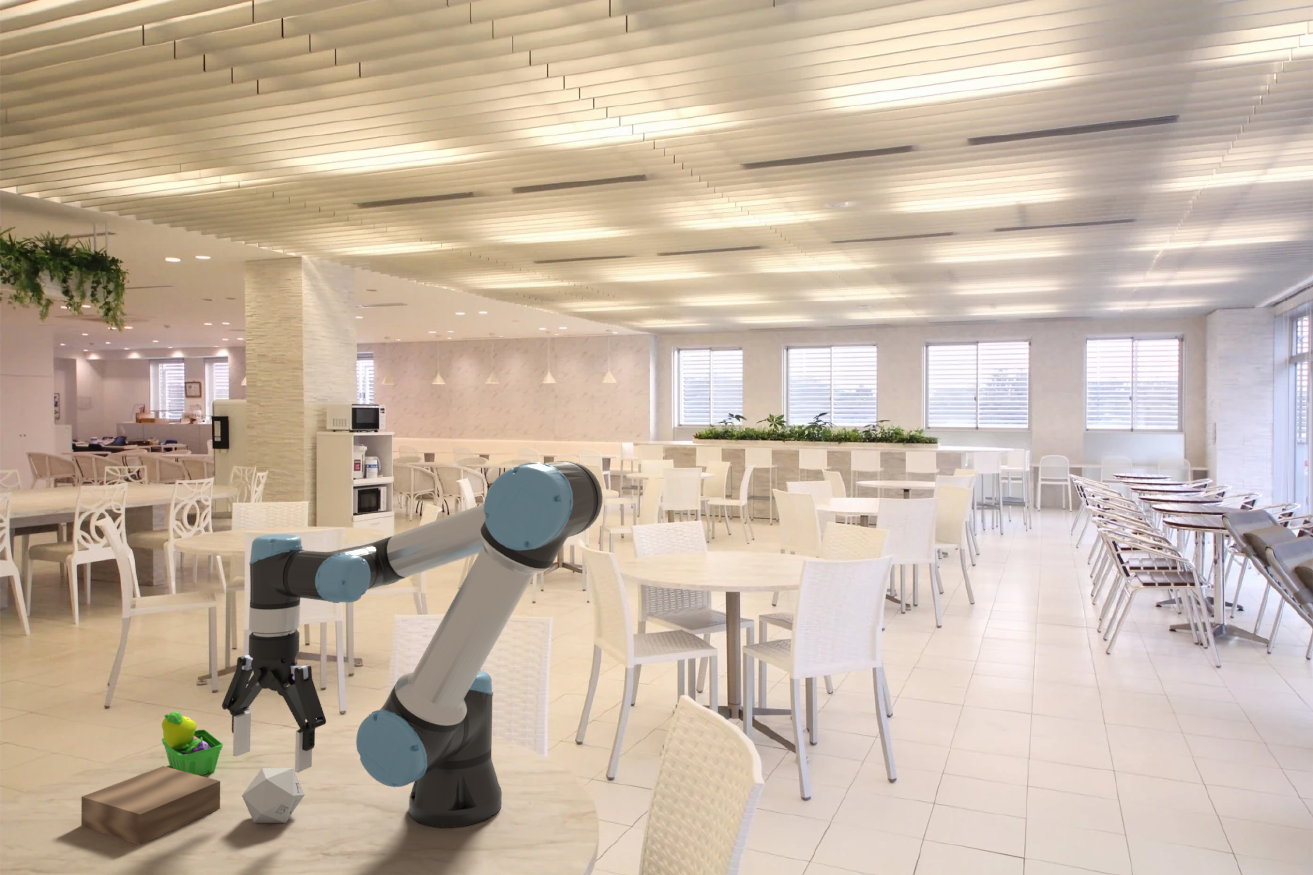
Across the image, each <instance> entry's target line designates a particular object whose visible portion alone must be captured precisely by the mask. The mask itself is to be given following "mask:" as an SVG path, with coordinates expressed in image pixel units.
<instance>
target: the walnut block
mask: <svg viewBox="0 0 1313 875" xmlns="http://www.w3.org/2000/svg"><path fill="white" fill-rule="evenodd" d="M80 806H81V807H80V808H81V813H80V814H81V818H80V819H81V821H80V822H81V824H80V825H81V826H82V827H84V828H87V829H90V830H94V831H97V832H100V833H102V834H106V835H109V836H112V837H114V838H118V839H121V840H124V841H128V842H131V843H133V844H137V845H142V844H144V843H146V842H149V841H150V840H153V839H155V838H158V837H160V836H162V835H165V834H166V833H170V832H171V831H174V830H175V829H178V828H181V827H183V826H185V825H186V824H188V823H191V822H193V821H196V820H197V819H200V818H202V817H204V816H207V815H209V814H211V813H214V812H216V811H218V810H219V809H221V780H217V779H214V778H210V777H207V776H203V775H200V776H199V775H195V774H192V773H188V772H184V771H180V770H176V769H174V768H173V767H169V766H164V765H163V766H160V767H157V768H154V769H152V770H149V771H146V772H144V773H142V774H138V775H136V776H133V777H131V778H127V779H125V780H123V781H120V782H118V783H114V784H112V785H110V786H106V787H104V788H101V789H98V790H95V791H94V792H93V791H92V792H90V793H88V794H85V795H82V796H81V805H80Z"/></svg>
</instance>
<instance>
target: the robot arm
mask: <svg viewBox="0 0 1313 875" xmlns="http://www.w3.org/2000/svg"><path fill="white" fill-rule="evenodd" d="M602 506H603V491H602V487H601V483H600V482H599V480H598V479H597V477H596V475H595V474H594V473H593V472H592V471H591V470H590V469H589V468H587V467H586V466H585V465H583V464H580V463H578V462H575V461H572V460H571V461H570V460H559V461H552V462H551V461H549V462H536V461H535V462H527V463H523V464H520V465H517V466H515V467H512V468H510V469H507V470H505V471H504V472H502V473H501V474H500V475H499V476H497V477H496V479H495V480H494V481H493V482H492V484H491V485H490V487H489V488H488V490H487V492H486V495H485V499H484V502H483V504H479V505H476V506H474V507H471V508H468V509H465V510H462V511H459V512H456V513H454V514H451V515H449V516H445V517H442V518H440V519H437V520H434V521H430V522H428V523H426V524H423V525H420V526H417V527H415V528H412V529H409V530H406V531H405V530H404V531H403V532H401V533H397V534H395V535H391V536H387V537H386V538H383V539H382V538H381V539H380V540H376V541H373V542H370V543H367V544H362V545H359V546H357V545H356V546H352V547H346V548H341V549H337V550H332V551H316V550H314V551H313V550H306V549H303V546H302V538H301V537H300V536H299V535H295V534H290V533H289V534H288V533H287V534H284V533H280V534H279V533H278V534H264V535H260V536H257V537H256V538H254V539H253V540H252V542H251V550H250V558H249V559H250V561H249V563H248V564H249V576H250V577H249V578H250V580H249V581H250V582H249V586H250V588H249V590H250V591H249V594H250V595H249V598H250V599H249V609H248V610H249V614H248V615H249V617H248V620H249V621H248V630H249V631H250V632H251V633H250V634H249V635H248V654H245V655H242V656H239V657H237V660H236V667H235V668H236V669H235V672H234V674H233V677H232V679H231V682H230V684H229V686H228V688H227V691H226V694H225V696H224V698H223V701H222V704H221V707H222V709H223V710H224V711H225V710H227V711H229V713H230V715H231V733H232V735H233V737H232V738H233V740H232V741H233V744H232V746H233V748H232V756H233V757H236V758H237V757H239V756H242V755H244V754H247V753H249V752H251V725H252V724H251V723H252V722H251V721H252V720H251V719H252V712H250V711H249V710H250V709H251V708H250V706H251V705H252V704H253V702H254V701H255V699H256V698H257V697H258V695H259V694H260V693H261V691H262V690H266V689H269V690H271V692H272V691H274V692H277V694H278V695H279V696H281V697H283V699H284V702H285V703H286V705H287V706H288V708H289V711H290V712H291V714H292V717H293V718H294V720H295V721H296V723H297V726H298V727H299V728H298V729H297V730H296V731H295V747H294V748H295V753H294V754H295V755H294V757H295V758H294V760H295V762H294V771H295V773H300V772H303V771H305V770H308V769H309V768H311V767H312V765H313V764H312V760H313V749H314V748H315V744H316V743H315V740H316V729H317V728H319V727H321V726H324V725H326V723H327V719H326V716H325V713H324V710H323V707H322V704H321V701H320V697H319V695H318V693H317V689H316V687H315V683H314V681H313V673H312V672H313V671H312V665H311V664H309V663H307V664H304V665H297V664H296V657H297V655H298V653H299V652H300V631H298V628H300V618H301V617H300V615H301V614H300V613H301V598H302V599H307V600H315V601H324V602H329V603H333V604H339V603H348V604H349V603H354V602H357V601H359V600H360V599H361V598H362V596H363V595H365V594H366V592H367V591H368V590H370V589H376V588H379V587H384V586H388V585H391V584H395V583H397V582H399V581H401V580H404V579H406V578H408V577H411V576H414V575H417V574H421V573H424V572H426V571H429V570H433V569H437V568H439V567H442V566H445V565H446V566H447V565H448V564H451V563H454V562H457V561H458V562H459V561H460V560H463V559H466V558H470V557H473V556H476V555H477V556H476V558H475V560H474V561H473V564H472V566H471V567H470V569H469V571H468V573H467V575H466V576H465V578H464V579H463V581H462V583H461V585H460V587H459V589H458V591H457V592H456V594H455V596H454V598H453V600H452V601H451V603H450V605H449V607H448V609H447V611H446V612H445V614H444V616H443V618H442V620H441V622H440V623H439V625H438V626H437V629H436V630H435V633H434V634H433V636H432V638H431V640H430V642H429V644H428V645H427V647H426V648H425V651H424V653H423V654H422V656H421V658H420V660H419V662H418V663H417V665H416V667H415V668H414V670H413V672H409V673H405V674H403V675H402V676H400V677H399V678H398V679H397V681H396V682H395V684H394V686H393V688H392V689H391V691H390V693H389V694H388V697H387V699H386V700H385V702H384V703H383V705H382V707H381V708H380V709H378V710H374V711H372V712H371V713H369V714H368V715H367V717H366V718H365V719H364V720H362V722H361V723H360V725H359V727H358V729H357V734H356V738H355V739H356V740H355V742H356V743H355V744H356V752H357V753H358V755H359V760H360V763H361V765H362V766H363V768H364V770H365V771H366V772H367V774H368V775H369V776H371V778H373V779H374V780H375V781H377V782H378V783H380V784H382V785H384V786H387V787H391V788H400V787H405V786H408V785H409V784H412V783H413V786H412V789H411V791H410V794H409V800H408V812H409V813H408V814H409V816H410V818H412V819H413V820H414V821H415V822H418V823H419V824H423V825H425V826H430V827H437V828H454V827H456V828H457V827H464V826H468V825H469V826H470V825H474V824H477V823H480V822H484V821H485V820H487V818H488V819H490V818H491V817H493V816H494V815H496V814H497V813H498V812H499V811H500V810H501V807H502V805H503V804H502V802H503V801H502V793H503V792H502V787H501V785H500V783H499V780H498V776H497V772H496V770H495V769H496V768H495V766H494V764H493V763H494V762H493V759H492V745H493V744H492V740H493V738H492V735H493V697H494V691H493V684H492V677H491V675H490V674H489V673H488V672H487V671H484V670H482V668H483V667H484V664H485V662H486V661H487V658H488V657H489V655H490V653H491V651H492V650H493V649H494V646H495V645H496V643H497V641H498V640H499V638H500V636H501V634H502V632H503V630H504V629H505V627H506V625H507V624H508V623H509V620H510V619H511V616H512V615H513V612H514V611H515V610H516V608H517V606H518V604H519V602H520V600H521V598H522V597H523V595H524V594H525V591H526V590H527V588H528V586H529V585H530V583H531V581H532V579H533V577H534V575H535V574H536V573H539V572H542V571H546V570H549V569H550V568H551V566H552V565H553V563H554V562H555V559H556V558H557V557H558V555H559V553H560V551H561V549H562V547H563V545H564V544H565V542H566V540H567V539H568V538H570V537H574V536H576V535H578V534H581V533H583V532H585V531H586V530H587V529H589V528H590V527H591V526H592V525H593V524H594V523H595V522H596V521H597V519H598V518H599V516H600V513H601V511H602ZM252 674H253V675H252ZM306 720H307V721H306ZM492 815H493V816H492ZM490 816H491V817H490ZM489 817H490V818H489Z"/></svg>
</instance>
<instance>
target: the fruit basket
mask: <svg viewBox="0 0 1313 875" xmlns="http://www.w3.org/2000/svg"><path fill="white" fill-rule="evenodd" d="M197 725H198V724H197V722H196V721H195V720H193V719H191V718H190V717H188V716H184V715H182V714H181V713H180V712H178V711H172V712H170V713H169V714H168V713H166V714H164V719H163V720H162V722H161V728H162V731H163V732H162V734H163V737H162V738H161V742H162V744H163V746H164V749H165V753H166V756H167V760H168V763H169V764H168V765H169V766H170V768H173V769H176V770H180V771H184V772H188V773H192V774H195V775H199V776H203V775H207V774H209V773H211V774H212V773H214V772H215V771H216V768H217V763H218V760H219V758H220V757H219V756H220V754H221V751H222V749H223V745H224V744H223V742H221V741H220V740H218V739H217V738H216V737H215V736H214V735H212V734H211V733H210V732H208V730H206V729H197V727H198V726H197Z"/></svg>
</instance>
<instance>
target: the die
mask: <svg viewBox="0 0 1313 875" xmlns="http://www.w3.org/2000/svg"><path fill="white" fill-rule="evenodd" d="M296 773H297V772H295V768H293V767H261V769H260V770H259V772H258V773H257V775H255V777H254V778H253V780H252V781H251V782H250V784H249V785H248V786H247V788H246V789H245V790H244V792H243V793H242V795H241V797H242V799H243V801H244V803H245V806H246V808H247V811H248V813H249V814H250V817H251V819H252V822H253V823H255V824H256V823H261V824H263V823H264V824H265V823H270V824H273V823H277V824H278V823H279V824H282V823H284V824H286V823H287V822H288V821H289V819H290V817H291V816H292V815H293V813H294V811H295V810H296V808H297V806H298V805H299V804H300V802H301V801H302V800H303V798H304V796H305V795H306V794H305V792H304V789H303V788H302V785H301V783H300V780H299V778H298V776H297V774H296Z"/></svg>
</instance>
